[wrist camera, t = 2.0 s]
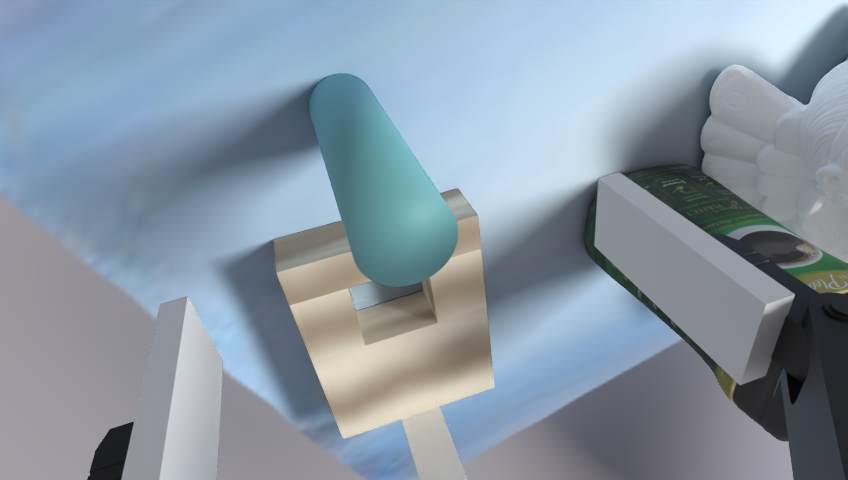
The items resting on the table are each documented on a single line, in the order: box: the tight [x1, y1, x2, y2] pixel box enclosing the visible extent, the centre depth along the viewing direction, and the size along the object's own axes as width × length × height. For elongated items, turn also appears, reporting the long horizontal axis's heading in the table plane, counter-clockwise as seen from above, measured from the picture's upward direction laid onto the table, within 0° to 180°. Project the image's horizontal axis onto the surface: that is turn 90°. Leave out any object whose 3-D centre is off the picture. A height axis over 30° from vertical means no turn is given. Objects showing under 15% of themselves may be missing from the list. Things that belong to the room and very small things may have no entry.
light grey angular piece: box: [401, 406, 468, 480], centre depth 34 cm, size 7×10×16 cm
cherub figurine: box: [700, 57, 848, 263], centre depth 35 cm, size 13×12×20 cm
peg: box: [309, 74, 458, 287], centre depth 22 cm, size 4×4×14 cm
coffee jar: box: [584, 165, 848, 441], centre depth 31 cm, size 10×8×19 cm
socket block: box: [274, 189, 494, 439], centre depth 35 cm, size 16×12×4 cm
